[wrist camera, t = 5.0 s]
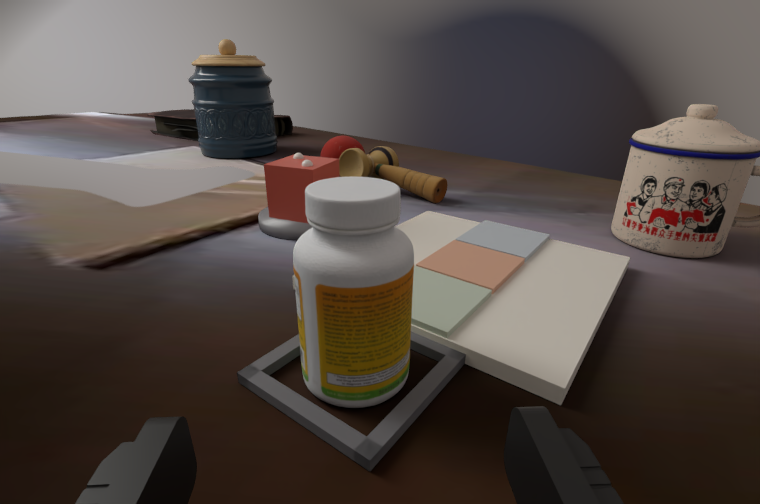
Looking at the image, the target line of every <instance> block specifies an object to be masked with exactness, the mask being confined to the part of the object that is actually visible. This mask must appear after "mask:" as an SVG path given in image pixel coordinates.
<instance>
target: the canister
mask: <svg viewBox="0 0 760 504" xmlns="http://www.w3.org/2000/svg"><path fill="white" fill-rule="evenodd" d="M219 52H220V53H221V55H200V56H199V58H198V59H197V60H195V61H194V62H192V65H193V66H196V69H195V73H194V75H193V76H191V77H190V78H189V82H190V83H191V84H192V85H193V88H194V100H193V101H192V103H193V105H194V110H195V116H196V122H197V129H198V135H199V138H198V141H199V147H200V148H201V151H202V154H203V155H205V156H209V157H215V158H249V157H257V156H263V155H267V154H271V153H273V152H275V151H276V150H277V136H276V132H275V121H274V111H273V103H274V100H273V99H272V98H271V96H270V90H269V85H270V83H271V82H272V79H271V78H270V77H268V76H267V75H266V74H265V73H264V71H263V68H262V66H265V63H263V62H262V61H260V60H259V59H257V58H256V56H248V55H235V54H236V47H235V44H234V43H233V42H232V41H231V40H228V39H224V40H222V41H220V43H219Z"/></svg>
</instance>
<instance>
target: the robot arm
mask: <svg viewBox="0 0 760 504" xmlns="http://www.w3.org/2000/svg"><path fill="white" fill-rule="evenodd" d="M504 463H505V469H506V474H507V477H508V480H509V483H510V485H511V488H512V491H513V494H514V496H515V499H516V502H517V504H623V502H622V500H621V499H620V497H619V495H618V494H617V492H616V490H615V489H614V488H612V486H611V482H610V481H609V479H608V477H607V476H606V474H605V472H604V471H603V470H601V466H600V464H599V462H598V461H597V459H596V457H595V456H594V454H593V453H592V451H591V449H590V448H589V446H588V445H587V444H586V443H585V442H584V441H583V440H582V439H581V438H579V437H578V436H577V435H576V434H575V433H574V432H573V431H572V430H571V429H570V428H561V429H558V427H557V425H556V423H555V421H554V420H553V418H552V416H551V414H550V412H549V411H548V409H547V408H545V407H544V406H541V407H514V408H513V409H512V411H511V416H510V421H509V427H508V432H507V438H506V443H505V448H504ZM196 471H197V463H196V457H195V453H194V449H193V444H192V440H191V436H190V432H189V427H188V423H187V420H186V418H185V417H157V418H150V419H148V420H147V421H146V423H145V424H144V426H143V428H142V429H141V431H140V433H139V434H138V436H137V438H136V440H135V441H134V442H123V443H122V444H121V445H120V446H118V447H117V448H116V449H115V450H114V451H113V452H112V453H111V454H110V455H109V456H108V457H106V458H105V459H104V460H103V461H102V462H101V464H100V465H99V467H98V468H97V470H96V471H95V473H94V475H93V476H92V478H91V479H90V481H89V483H88V484H87V488H86V490H83V492H82V494H81V495H80V497H79V498H78V500H77V502H76V503H75V504H188V501H189V498H190V496H191V493H192V490H193V487H194V484H195V479H196Z"/></svg>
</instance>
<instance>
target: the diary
mask: <svg viewBox="0 0 760 504" xmlns="http://www.w3.org/2000/svg"><path fill="white" fill-rule="evenodd" d="M148 116H155V122H156V127H157V131H153V130H150V131H151V132H152V133H154V134H157V135H163V136H169V137H175V138H183V139H188V140H193V141H197V140H198V138H199V135H198V129H197V122H196V116H195V110H171V111H162V112H154V113H150V114H148ZM274 121H275V132H276V136H278V135H282V136H284V135H283V134H289V135H291V134H292V130H293V126H292V121H291V118H290V116H285V115H284V116H283V115H274Z"/></svg>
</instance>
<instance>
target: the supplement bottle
mask: <svg viewBox="0 0 760 504" xmlns="http://www.w3.org/2000/svg"><path fill="white" fill-rule="evenodd" d="M400 206H401V198H400V188H399V186H398V185H396V184H395V183H393V182H390V181H387V180H383V179H378V178H370V177H353V176H351V177H335V178H328V179H323V180H319V181H316V182H313V183H311V184H309V185H308V186H307V187H306V189H305V208H306V210H305V213H306V217H307V221H308V223H309V224H310V225H311V226H312V227H313V228H311V229H309V230H308V231H306V232H305V233H304V234H302V235H301V237H300V238H299V239H298V240H297V242H296V244H295V247H294V251H293V267H294V278H295V290H296V302H297V315H298V328H299V340H300V353H301V365H302V372H303V378H304V381H305V384H306V386H307V387H308V389H309V390H310V391H311V392H312V394H314V395H315V396H316V397H317V398H319V399H321V400H323V401H324V402H327V403H329V404H332V405H335V406H340V407H346V408H363V407H370V406H374V405H377V404H380V403H382V402H384V401H386V400H388V399H390V398H391V397H393V396H394V395H395V394H397V393H398V392H399V391H400V389H401V388H402V387H403V386H404V384H405V382H406V380H407V377H408V373H409V364H410V340H411V317H412V294H413V275H414V249H413V245H412V243H411V240H410V239H409V238H408V236H407V235H406V234H405V233H404V232H403V231H401V230H400V229H398V228H397V227H394V226H395V225H396V224H397V223H398V222H399V219H400Z"/></svg>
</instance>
